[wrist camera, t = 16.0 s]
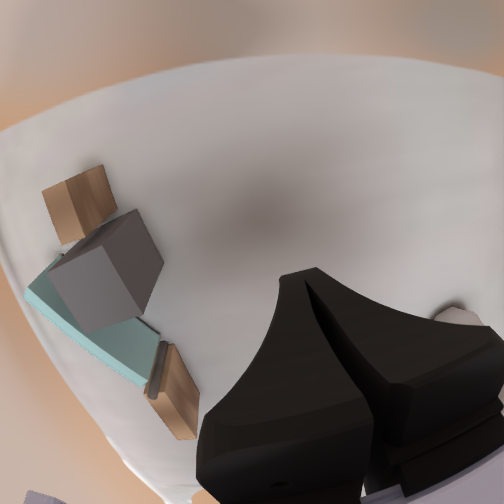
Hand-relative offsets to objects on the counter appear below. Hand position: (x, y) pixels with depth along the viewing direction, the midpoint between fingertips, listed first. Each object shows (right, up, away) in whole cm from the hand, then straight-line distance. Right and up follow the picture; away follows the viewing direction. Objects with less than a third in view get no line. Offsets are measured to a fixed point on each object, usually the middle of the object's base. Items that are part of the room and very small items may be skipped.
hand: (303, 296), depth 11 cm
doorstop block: (-10, +2, +9) cm, 14 cm away
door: (-13, -2, +10) cm, 16 cm away
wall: (-9, -2, +11) cm, 14 cm away
